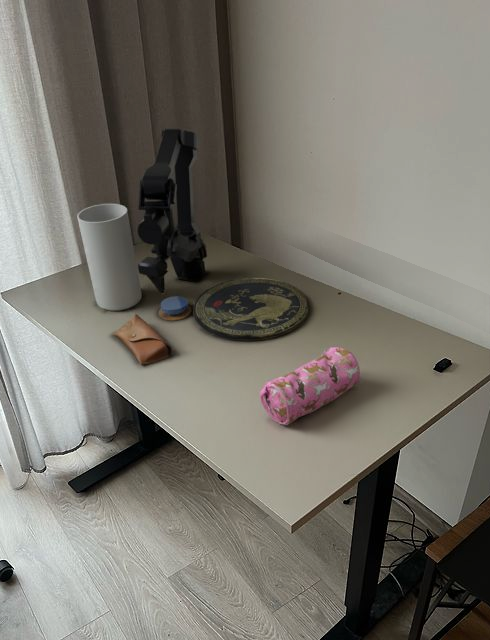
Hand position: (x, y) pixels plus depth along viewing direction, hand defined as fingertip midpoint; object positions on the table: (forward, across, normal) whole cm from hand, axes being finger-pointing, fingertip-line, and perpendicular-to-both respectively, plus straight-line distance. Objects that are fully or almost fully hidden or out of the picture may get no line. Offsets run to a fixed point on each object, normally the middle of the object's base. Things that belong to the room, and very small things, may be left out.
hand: (171, 285), depth 154 cm
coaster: (+8, 0, 0) cm, 8 cm away
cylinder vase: (+8, +1, +18) cm, 20 cm away
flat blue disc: (+8, 0, 0) cm, 8 cm away
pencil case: (+8, -24, -45) cm, 52 cm away
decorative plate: (+8, +7, -19) cm, 22 cm away
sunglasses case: (+8, -16, 0) cm, 18 cm away
